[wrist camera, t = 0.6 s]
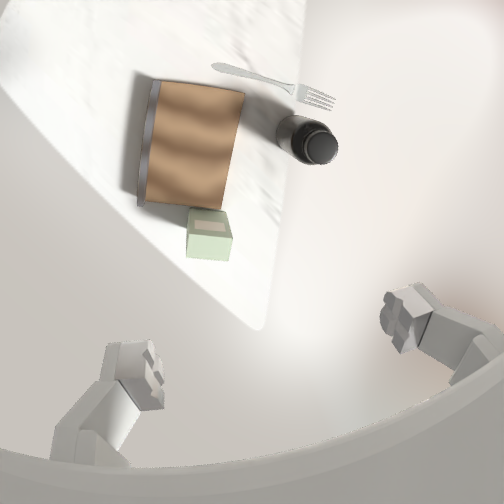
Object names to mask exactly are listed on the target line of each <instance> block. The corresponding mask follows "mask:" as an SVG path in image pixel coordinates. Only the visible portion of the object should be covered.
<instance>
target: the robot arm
mask: <svg viewBox="0 0 504 504" xmlns="http://www.w3.org/2000/svg"><path fill="white" fill-rule="evenodd" d="M384 302H385V306H384V307H383V308H382V310H381V313H380V323H381V326H382V329H383V330H384V332H385V333H386V334H388V335H390V336H392V343H393V345H394V346H395V348H396V349H397V351H398V352H399V353H400V354H402V353H405V352H408V351H410V350H413V349H416V348H418V349H419V350H421V351H423V352H424V353H426V354H427V355H429V356H431V357H433V358H434V359H436V360H437V361H439V362H441V363H442V364H444V365H446V366H447V367H449V368H450V369H452V370H454V373H453V375H452V376H451V378H450V380H449V384H450V385H451V387H449V388H447V389H445V390H443V391H441V392H440V393H438V394H436V395H434V396H432V397H430V398H428V399H426V400H425V401H423V402H420V403H418V404H416V405H414V406H412V407H410V408H408V409H406V410H404V411H402V412H399V413H397V414H395V415H393V416H390V417H388V418H386V419H383V420H381V421H378V422H376V423H373V424H371V425H368V426H366V427H363V428H360V429H358V430H355V431H352V432H349V433H347V434H344V435H340V436H337V437H334V438H331V439H328V440H325V441H321V442H318V443H315V444H311V445H307V446H304V447H300V448H297V449H292V450H288V451H284V452H279V453H275V454H271V455H265V456H260V457H255V458H250V459H244V460H238V461H231V462H224V463H217V464H207V465H197V466H185V467H167V468H166V467H165V468H131V463H130V462H129V461H128V460H127V459H126V458H125V457H123V456H122V455H121V454H120V453H119V452H117V451H118V450H119V448H120V446H121V445H122V443H123V441H124V440H125V438H126V436H127V434H128V433H129V431H130V430H131V428H132V427H133V425H134V423H135V421H136V420H137V418H138V417H139V415H140V413H141V412H140V411H149V410H158V409H164V391H163V390H162V388H161V386H162V384H163V383H164V369H163V364H162V361H161V359H160V357H159V355H157V354H155V346H154V344H153V342H152V340H150V339H148V340H138V341H126V342H117V343H109V344H108V345H107V346H106V350H105V355H104V359H103V364H102V369H101V374H100V379H99V381H96V382H95V383H94V384H93V385H92V386H91V387H90V388H89V389H88V390H87V391H86V392H85V393H84V395H83V396H82V397H81V398H80V399H79V400H78V401H77V403H75V405H74V406H73V407H72V408H71V409H70V410H69V412H68V413H67V414H66V415H65V416H64V417H63V418H62V419H61V420H60V422H59V423H58V424H57V425H56V426H55V431H54V436H53V442H52V448H51V454H50V460H48V459H43V458H38V457H33V456H29V455H24V454H20V453H16V452H12V451H8V450H5V449H1V448H0V504H504V334H503V333H502V332H501V331H500V329H499V328H498V327H497V326H496V325H495V324H492V323H490V322H487V321H485V320H482V319H480V318H477V317H475V316H472V315H470V314H467V313H465V312H462V311H460V310H457V309H455V308H452V307H450V306H446V307H445V306H444V305H443V304H442V303H441V302H440V301H439V300H438V299H437V298H436V297H435V296H434V295H433V293H431V292H430V290H429V289H427V288H426V286H425V285H424V284H423V283H420V282H417V283H414V284H411V285H409V286H405V287H402V288H398V289H395V290H391V291H388V292H387V293H386V294H385V296H384Z"/></svg>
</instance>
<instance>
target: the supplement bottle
mask: <svg viewBox="0 0 504 504" xmlns="http://www.w3.org/2000/svg"><path fill="white" fill-rule="evenodd" d="M276 138H277V142H278V144H279V145H280V147H281V148H282V149H283V150H284V151H286V152H287V153H289V154H290V155H291V156H293V157H294V158H296V159H297V160H298V161H300V162H302V163H304V164H307V165H316V164H320V165H321V164H327V163H330V162H331V161H332V160H333V159H334V158H335V156H336V155H337V152H338V142H337V140H336V138H335V137H334V136H333V135H332V133H331V131H330V129H329V128H328V127H327V126H326V125H325V124H323V123H321V122H319V121H316V120H313V119H310V118H306V117H303V116H298V115H293V116H289V117H287V118H285V119H284V120H282V121H281V123H280V124H279V126H278V128H277V131H276Z"/></svg>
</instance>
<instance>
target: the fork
mask: <svg viewBox="0 0 504 504" xmlns="http://www.w3.org/2000/svg"><path fill="white" fill-rule="evenodd" d="M211 66H212V68H214V69H215V70H217V71H219V72H223V73H227V74H232V75H236V76H241V77H246V78H251V79H256V80H260V81H264V82H267V83H271V84H274V85H277V86H280V87H282V88H284V89H286V90H287V91H288V92H289V93H290V94H291V95H293V92H294V89H295V85H286V84H283V83H280V82H277V81H274V80H271V79H268V78H265V77H262V76H260V75H257V74H254V73H251V72H249V71H246V70H243V69H240V68H237V67H234V66H231V65H228V64H225V63H214V64H212V65H211ZM308 90H312V91H314V92H316V93H319V94H321V95H324V96H326V97H328V98H331V99H334V98H333V97H331V96H329V95H326V94H324V93H322V92H319V91H317V90H315V89H313V88H311V87H308V86H306V85H303V84H297V94H296V101H299V102H302V103H305V104H309V105H312V106H315V107H319V108H322V109H325V110H329V111H331V110H330V109H327V108H325V107H322V106H319V105H316V104H313V103H310V102H307V101H305V100H304V99H309V100H311V101H314V102H317V103H320V104H323V105H326V106H329V107H333V106H330V105H328V104H326V103H323V102H321V101H318V100H316V99H313V98H310V97H307V96H306V95H305V94H309V95H312V96H314V97H317V98H319V99H322V100H325V101H328V102H330V103H334V102H331V101H329V100H327V99H325V98H323V97H320V96H318V95H315V94H313V93H310V92H308ZM334 100H336V99H334Z"/></svg>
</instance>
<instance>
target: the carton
mask: <svg viewBox="0 0 504 504" xmlns="http://www.w3.org/2000/svg"><path fill="white" fill-rule="evenodd" d="M232 241H233V237H232V233H231V229H230V226H229V222H228V218H227V214H226V212H220V211H211V210H203V209H194V208H190V209H189V216H188V223H187V238H186V258H197V259H207V260H218V261H228V260H229V255H230V250H231V245H232Z"/></svg>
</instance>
